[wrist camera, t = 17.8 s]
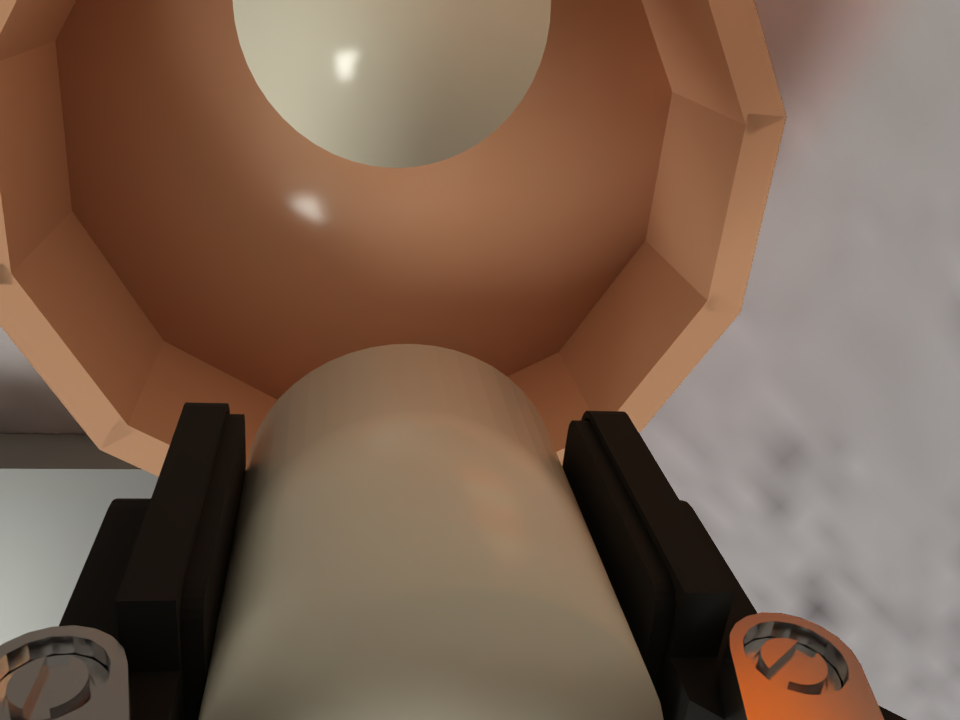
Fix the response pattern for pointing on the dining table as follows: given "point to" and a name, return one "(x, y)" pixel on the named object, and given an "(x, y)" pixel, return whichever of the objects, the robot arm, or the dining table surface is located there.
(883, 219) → the dining table surface
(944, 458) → the dining table surface
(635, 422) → the bowl
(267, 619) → the pebble
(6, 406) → the dining table surface
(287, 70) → the pebble
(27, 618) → the parts tray
